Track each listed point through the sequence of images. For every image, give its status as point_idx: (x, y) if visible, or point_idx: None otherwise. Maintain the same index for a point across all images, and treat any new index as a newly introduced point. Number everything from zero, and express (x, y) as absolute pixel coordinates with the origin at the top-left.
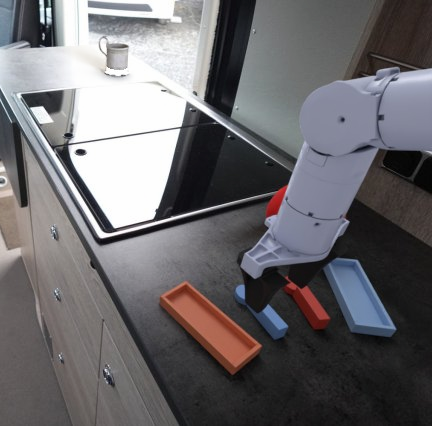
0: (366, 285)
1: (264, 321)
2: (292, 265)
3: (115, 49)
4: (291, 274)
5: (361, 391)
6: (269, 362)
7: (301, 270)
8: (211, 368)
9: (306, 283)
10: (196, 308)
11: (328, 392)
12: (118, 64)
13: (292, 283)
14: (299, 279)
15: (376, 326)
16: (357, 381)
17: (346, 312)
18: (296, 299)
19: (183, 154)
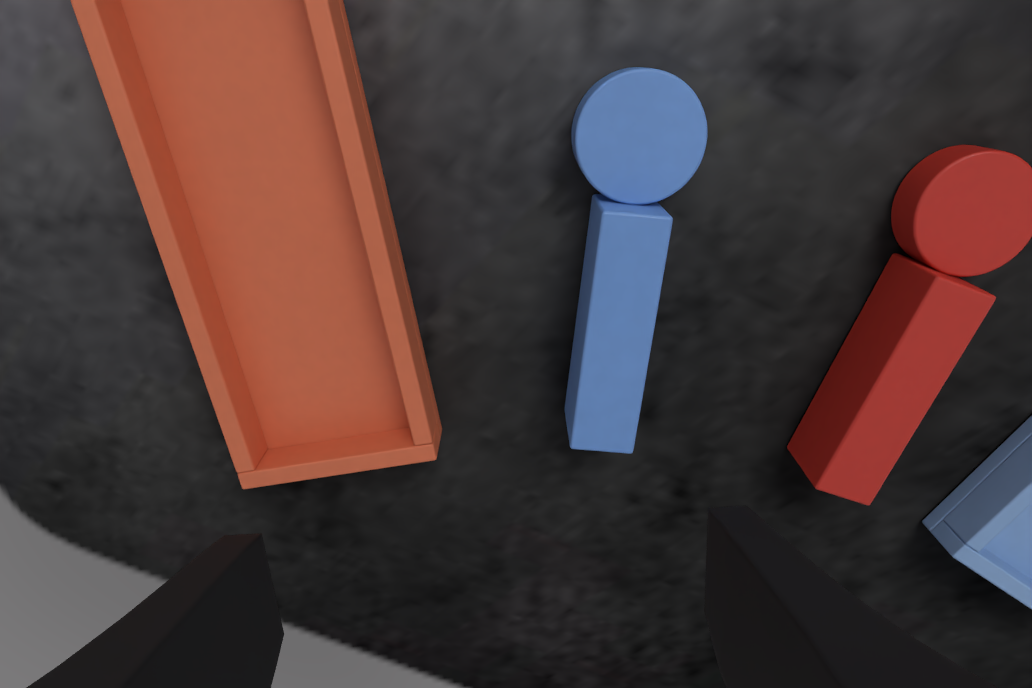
0: None
1: (577, 343)
2: (758, 588)
3: None
4: (724, 555)
5: (686, 680)
6: (457, 477)
7: (757, 677)
8: (190, 396)
9: (725, 682)
10: (283, 85)
11: (573, 640)
12: None
13: (962, 214)
14: (722, 627)
15: (1022, 598)
16: (711, 655)
17: (1007, 473)
18: (880, 292)
19: None
